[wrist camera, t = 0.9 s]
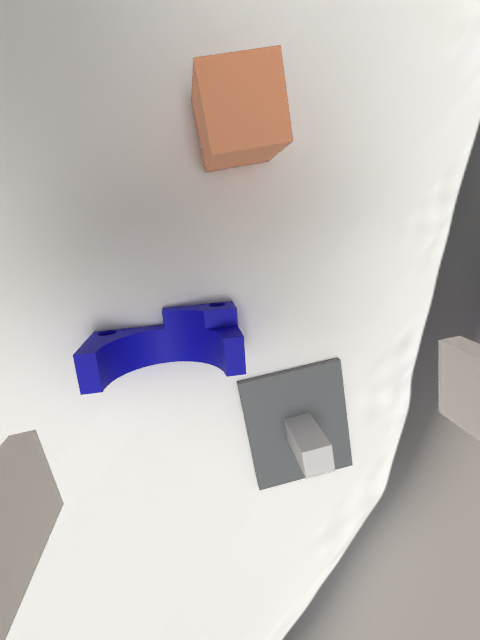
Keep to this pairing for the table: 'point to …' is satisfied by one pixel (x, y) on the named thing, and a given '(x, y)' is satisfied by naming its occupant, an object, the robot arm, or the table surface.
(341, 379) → the stand
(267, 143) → the peach clay cube
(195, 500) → the table surface
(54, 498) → the robot arm
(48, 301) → the table surface
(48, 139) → the table surface
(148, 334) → the blue arch bracket
